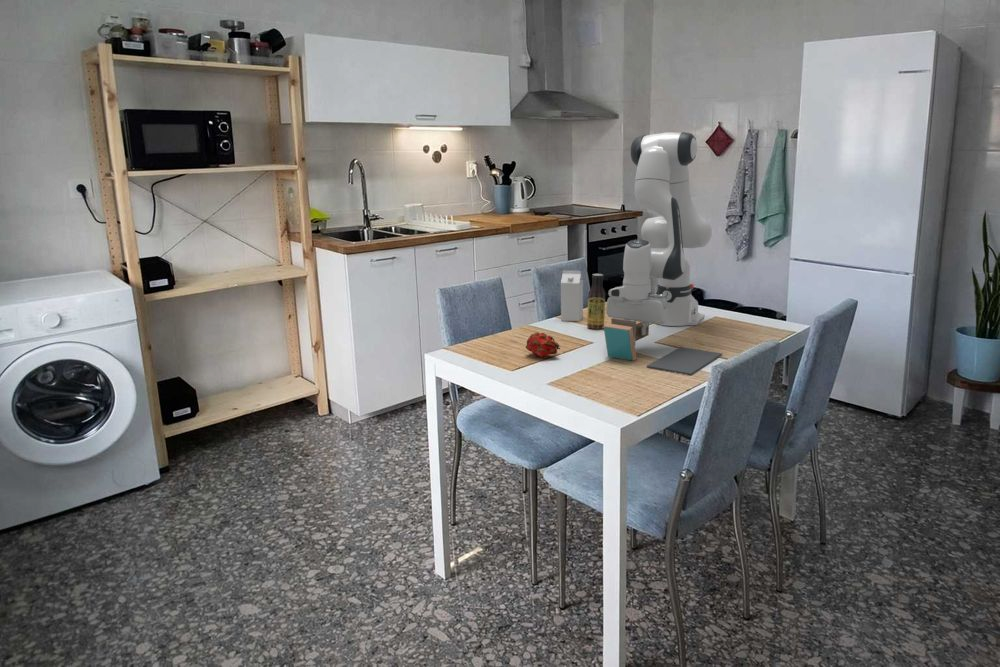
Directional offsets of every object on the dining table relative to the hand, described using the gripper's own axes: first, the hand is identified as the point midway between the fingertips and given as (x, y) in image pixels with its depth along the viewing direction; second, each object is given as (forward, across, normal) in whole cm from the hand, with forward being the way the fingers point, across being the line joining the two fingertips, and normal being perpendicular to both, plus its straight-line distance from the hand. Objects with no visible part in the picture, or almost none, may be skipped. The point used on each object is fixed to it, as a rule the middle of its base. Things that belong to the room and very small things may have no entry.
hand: (635, 333), depth 227 cm
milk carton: (+6, +40, -25) cm, 48 cm away
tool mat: (+6, -18, +2) cm, 19 cm away
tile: (+6, 0, +9) cm, 11 cm away
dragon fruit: (+6, +22, +21) cm, 31 cm away
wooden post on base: (+2, 0, +2) cm, 2 cm away
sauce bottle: (+6, +26, -19) cm, 33 cm away
